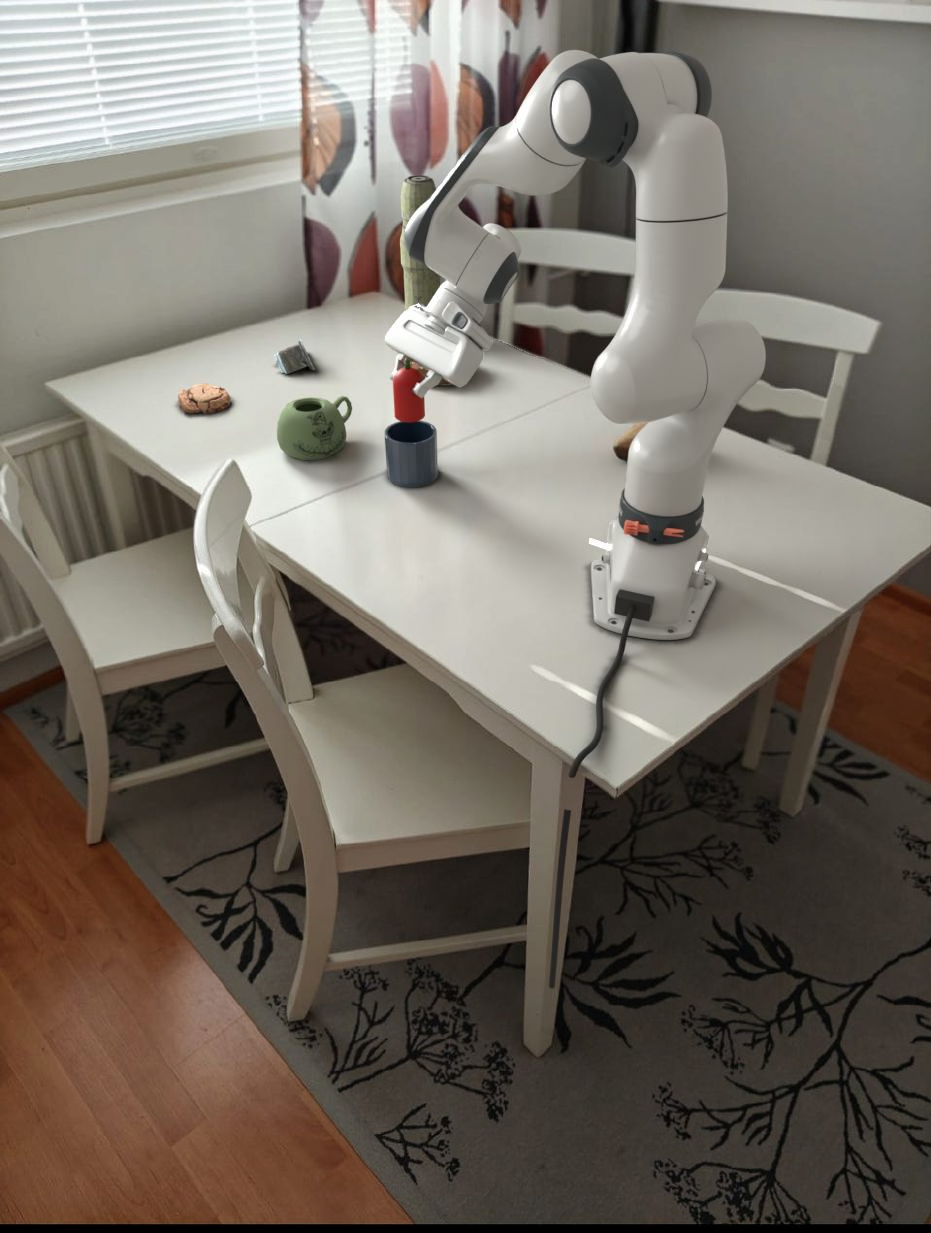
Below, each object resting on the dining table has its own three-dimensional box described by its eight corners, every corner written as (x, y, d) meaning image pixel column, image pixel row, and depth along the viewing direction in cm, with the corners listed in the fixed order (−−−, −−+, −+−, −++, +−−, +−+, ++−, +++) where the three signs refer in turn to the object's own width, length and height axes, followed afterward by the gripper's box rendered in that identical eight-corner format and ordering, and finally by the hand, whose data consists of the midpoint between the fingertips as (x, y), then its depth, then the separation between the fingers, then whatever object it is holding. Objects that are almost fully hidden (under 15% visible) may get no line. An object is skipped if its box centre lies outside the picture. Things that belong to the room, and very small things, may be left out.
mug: (305, 471, 179) (300, 427, 173) (264, 447, 186) (258, 404, 181) (374, 442, 187) (371, 399, 182) (332, 420, 195) (328, 378, 189)
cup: (429, 490, 173) (428, 446, 168) (380, 484, 175) (377, 440, 170) (443, 465, 180) (442, 422, 175) (396, 459, 182) (393, 417, 177)
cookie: (226, 414, 197) (223, 400, 195) (172, 414, 197) (169, 400, 195) (236, 393, 205) (234, 379, 203) (185, 392, 205) (182, 379, 203)
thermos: (427, 329, 231) (421, 168, 210) (454, 345, 223) (452, 180, 202) (394, 337, 227) (385, 174, 206) (421, 354, 220) (414, 187, 198)
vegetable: (645, 469, 172) (634, 411, 170) (606, 473, 182) (596, 418, 180) (712, 450, 179) (703, 395, 177) (671, 455, 189) (662, 402, 187)
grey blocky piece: (273, 356, 220) (263, 335, 208) (303, 344, 221) (294, 322, 209) (290, 394, 219) (281, 375, 208) (320, 382, 220) (312, 362, 208)
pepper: (420, 423, 168) (417, 366, 162) (390, 420, 169) (387, 363, 163) (428, 410, 172) (426, 354, 166) (399, 407, 173) (397, 351, 167)
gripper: (404, 290, 170) (359, 359, 171) (478, 326, 157) (429, 400, 158) (426, 310, 175) (383, 376, 176) (499, 346, 162) (452, 418, 163)
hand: (405, 388), depth 167 cm, fingers closed on pepper, 5 cm apart
